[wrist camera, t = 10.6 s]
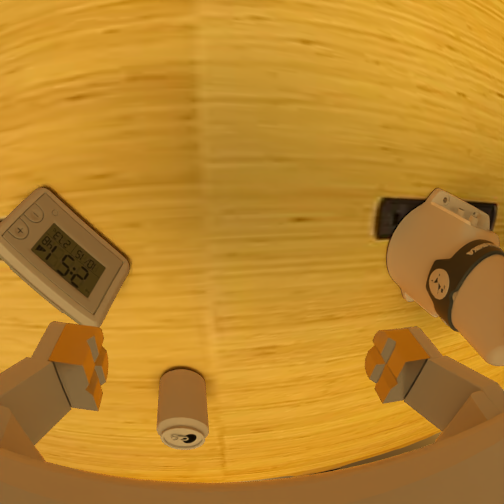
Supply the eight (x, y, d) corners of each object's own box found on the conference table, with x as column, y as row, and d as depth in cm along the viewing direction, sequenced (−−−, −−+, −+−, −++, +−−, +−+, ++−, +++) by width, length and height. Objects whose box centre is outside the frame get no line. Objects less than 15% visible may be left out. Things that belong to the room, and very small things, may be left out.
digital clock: (138, 267, 39) (122, 317, 30) (92, 299, 40) (69, 350, 31) (60, 166, 32) (17, 190, 23) (18, 210, 33) (-26, 243, 23)
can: (195, 398, 51) (198, 456, 40) (154, 387, 49) (150, 446, 38) (212, 372, 49) (218, 433, 38) (168, 359, 46) (164, 422, 36)
